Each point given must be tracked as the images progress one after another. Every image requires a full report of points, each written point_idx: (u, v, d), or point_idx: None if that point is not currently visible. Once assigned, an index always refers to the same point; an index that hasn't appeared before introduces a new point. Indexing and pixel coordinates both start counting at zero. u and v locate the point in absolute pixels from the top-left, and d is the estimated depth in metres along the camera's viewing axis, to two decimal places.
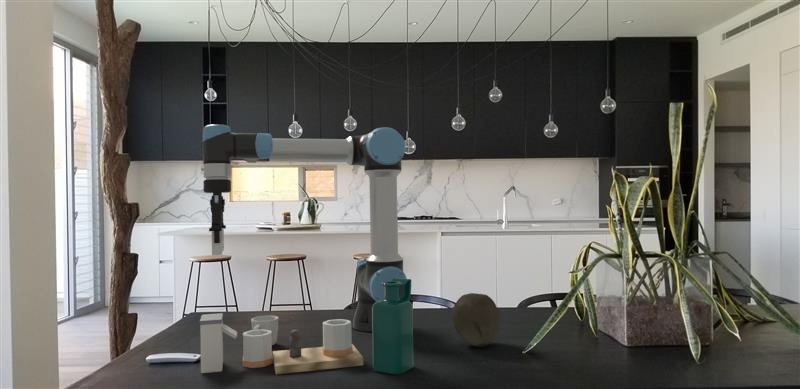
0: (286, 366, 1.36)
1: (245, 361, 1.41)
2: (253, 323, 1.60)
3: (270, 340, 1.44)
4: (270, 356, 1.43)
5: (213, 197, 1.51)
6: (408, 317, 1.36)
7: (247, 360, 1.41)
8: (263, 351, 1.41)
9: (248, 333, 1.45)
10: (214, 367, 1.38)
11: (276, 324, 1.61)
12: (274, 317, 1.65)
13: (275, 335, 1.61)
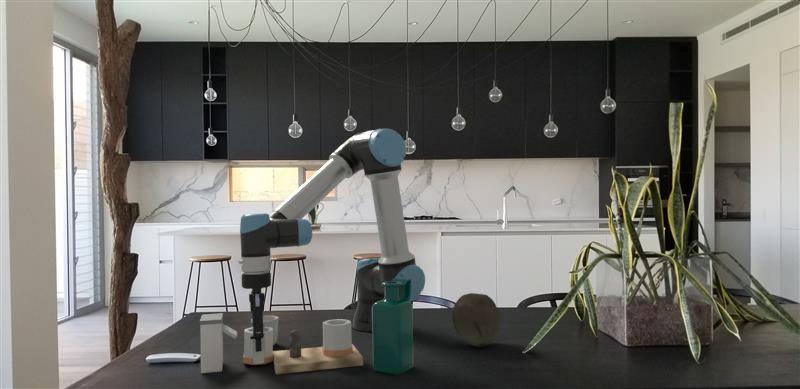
0: (286, 366, 1.36)
1: (246, 358, 1.42)
2: None
3: (271, 337, 1.44)
4: (271, 353, 1.44)
5: (254, 301, 1.38)
6: (408, 317, 1.36)
7: (248, 357, 1.41)
8: (264, 348, 1.42)
9: (249, 330, 1.45)
10: (214, 367, 1.38)
11: (276, 324, 1.61)
12: (274, 317, 1.65)
13: (275, 335, 1.61)
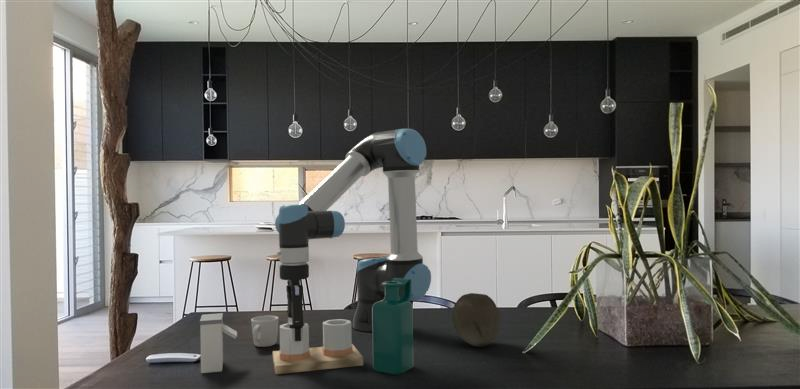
0: (286, 366, 1.36)
1: (283, 354, 1.40)
2: (253, 323, 1.60)
3: (307, 333, 1.42)
4: (307, 349, 1.42)
5: (293, 289, 1.37)
6: (408, 317, 1.36)
7: (285, 353, 1.40)
8: None
9: (285, 326, 1.44)
10: (214, 367, 1.38)
11: (276, 324, 1.61)
12: (274, 317, 1.65)
13: (275, 335, 1.61)
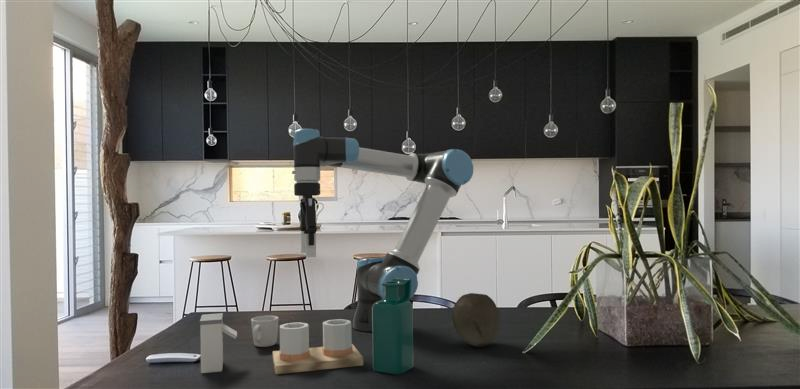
0: (286, 366, 1.36)
1: (283, 354, 1.40)
2: (253, 323, 1.60)
3: (307, 333, 1.42)
4: (307, 349, 1.42)
5: (307, 200, 1.54)
6: (408, 317, 1.36)
7: (285, 353, 1.40)
8: (301, 344, 1.40)
9: (285, 326, 1.44)
10: (214, 367, 1.38)
11: (276, 324, 1.61)
12: (274, 317, 1.65)
13: (275, 335, 1.61)
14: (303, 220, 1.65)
